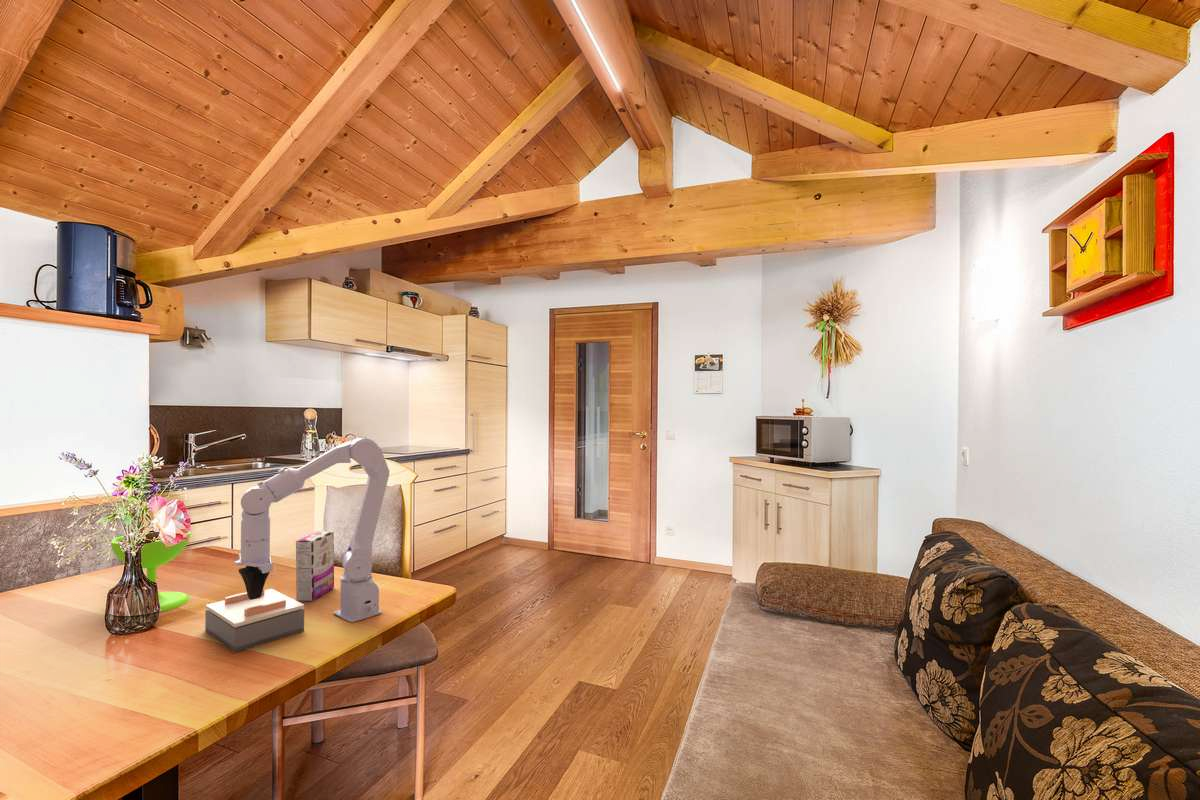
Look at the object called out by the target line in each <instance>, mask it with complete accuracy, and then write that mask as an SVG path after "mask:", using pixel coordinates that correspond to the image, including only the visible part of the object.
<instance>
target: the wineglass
mask: <svg viewBox="0 0 1200 800" xmlns="http://www.w3.org/2000/svg"><path fill="white" fill-rule="evenodd" d="M188 531H189V532H188V535H187V539H186V540H185V541H181V542H179V543H178V544H176V545H174V546H171V547H166V546H165V544H164V543H163V542H161V541H155V542H151V543H149V544H146V545H145V546H144V547H143V548H142V550H141V554H142V562H141V564H142V568H141V569H146V579H147V578H148V579H149V580H150V581H153V582H155V583H156V584H157V568H158V567H161V566H163V565H165V564H167V563H169V562H171V561H172V560H174V559H175V558H177V557H178V556H179V555H180V554H181V553H182V552H183V551H184V550H185V548H186V547H187V545H188V543H189V539H190V534H191V531H190V530H188ZM124 536H125V535H122V536H119V537H115V538H113V539H112V540H111V541H110V544H111V550H112V552H113V554H114V556H115V557H116V559H118V560H120V561H121V562H122V563H123V564H125V554H124V552H123V551H122V550H121V548H120V545H119V544H118V543H117V542H116V540H123V539H124ZM158 597H159V601H160V609H161V612H160V613H162V612H166V611H169V610H172V609H176V608H178V607H181V606H183V605H184V604H186V603H188V602H189V601H190V597H189V595H188V594H186V593H185V592H181V591H161V592H158Z"/></svg>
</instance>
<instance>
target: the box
mask: <svg viewBox="0 0 1200 800" xmlns="http://www.w3.org/2000/svg"><path fill="white" fill-rule="evenodd" d="M204 620H205V621H204V622H205V623H204V624H205V626H204V627H205V628H204V629H205V630H204V631H205V632H206V633H207V634H208V635H210V636H211V637H212V638H214V639H215V640H216V641H218V642H219V643H221V644H222V645H223V646H225V647H226V648H227V649H229V650H230V651H231V652H233V653H234V654H236V653H239V652H243V651H245V650H249V649H252V648H255V647H259V646H261V645H264V644H267V643H270V642H274V641H277V640H280V639H283V638H287V637H289V636H292V635H296V634H300V633H303V632H305V608H303V609H299V610H296V611H292V612H289V613H285V614H281V615H278V616H274V617H271V618H267V619H264V620H260V621H257V622H253V623H250V624H246V625H243V626H239V627H233V626H232V625H230V624H229V623H227V622H226V621H224V620H223V619H221V618H220V617H218V616H216V615H215V614H213V613H212V612H210V611H209V610H207V609H206V608H205V619H204Z"/></svg>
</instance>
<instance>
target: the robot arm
mask: <svg viewBox="0 0 1200 800" xmlns="http://www.w3.org/2000/svg"><path fill="white" fill-rule="evenodd" d="M351 459H352V460H353V461H355V463H357V464H358V465H360V466H361V468H362V469H363V470H364V472H365V473H366V475H367V479H366V483H365V488H364V492H363V495H362V500H361V503H360V507H359V511H358V515H357V518H356V523H355V526H354V531H353V535H352V537H351V539H350V541H349V543H348V547H347V549H345V551H344V552H343V554H342V556H341V559H340V562H341V566H342V568H343V570H344V571H343V573H342V575H341V576H340V602H339V603H340V604H339V605H340V609H338V610H334V611H333V612H332V613H333V614H334V615H335V616H337V617H340V618H341V619H343V620H345V621H347V622H350V623H355V622H358V621H361V620H364V619H367V618H371V617H373V616H376V615H380V614H383V610H381V609H380V604H379V603H380V599H379V598H380V588H379V586H378V585H377V584H376V583H375V582H374V580H373V572H372V569H373V560H372V554H373V540H374V537H375V534H376V533H375V532H376V528H377V525H378V520H379V517H380V512H381V509H382V504H383V501H384V498H385V497H384V496H385V492H386V490H387V485H388V482H389V481H388V480H389V478H390V469H389V465H388V464H387V461H386V459H385V456H384V452H383V449H382V448H381V447H380V446H379V445H378V444H377V442H376V441H374V440H372V439H371V438H367V437H364V436H359V437H357V436H356V437H355V438H353V439H352V440H350V441H346V442H344V443H341V444H339V445H336V446H334V447H333V448H331V449H329V450H328V451H326V452H324V453H322V454H321V455H319V456H318V457H316V458H314V459H313V460H311V461H309V462H307V463H306V464H304V465H302V466H301V467H299V468H293V467H288V468H286V469H284V467H283V468H281V469H279V470H278V471H277V473H276V474H275V475H273V476H272V477H270V478H267V479H266V480H264V481H262V480H260V481H258V482H257V483H256V484H257V486H253V487H250V488H248V489H247V490H245V492H244V493H243V495H242V497H241V498H240V506H241V509H242V512H241V521H240V553H238V560H235V561H234V565H235V566H237V567H238V566H245V567H242V568H239V569H238V570H237V571H238V573H239V574H240V576H241V578H242V580H243V582H244V586H245V590H246V592H247V595H248V598H249V599H250V600H253V599H257V598H261V595H262V591H263V589H265V588H264V587H265V584H266V581H267V579H268V576H269V575H270V574H271V573H272V572H274V562H272V557H271V555H270V553H271V552H270V551H271V550H270V549H271V517H270V507H271V506H272V505H271V504H274V503H278V502H280V501H282V500H283V499H285V498H287V497H289V496H291V495H292V494H294V493H296V492H298V491H299V490H302V489H303V487H304V485H305V481H306V480H307V479H310V478H311V477H315V475H317V474H319V473H321V472H323V471H325V470H327V469H329V468H331V467H333V466H335V465H337V464H351V463H352V460H351Z"/></svg>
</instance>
